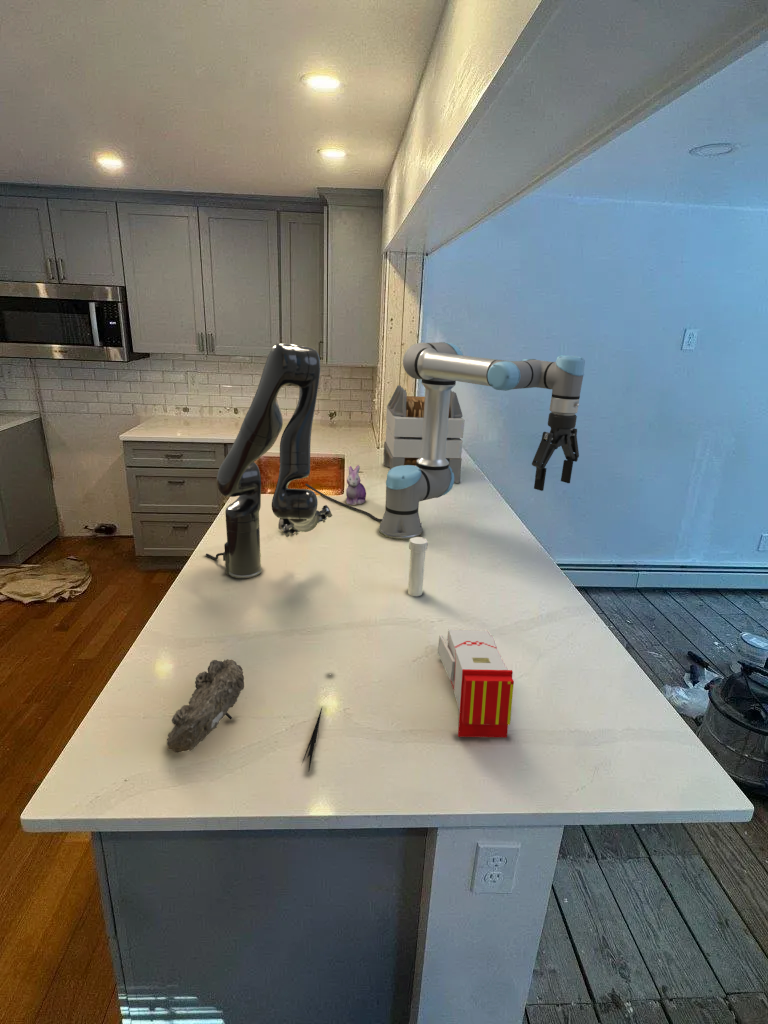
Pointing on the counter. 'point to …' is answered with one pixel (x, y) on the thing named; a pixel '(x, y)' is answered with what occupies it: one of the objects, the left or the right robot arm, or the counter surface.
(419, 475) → the right robot arm
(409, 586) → the white long cylinder
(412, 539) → the lid
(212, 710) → the fossil
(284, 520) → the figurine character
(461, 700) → the toy
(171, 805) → the counter surface
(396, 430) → the white slatted crate
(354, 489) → the figurine
